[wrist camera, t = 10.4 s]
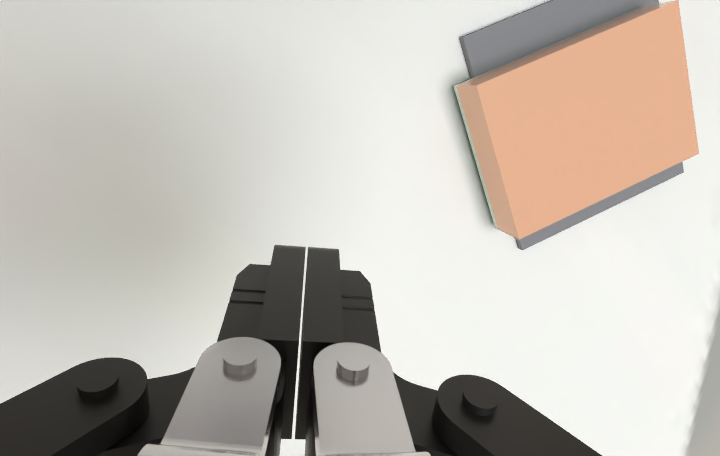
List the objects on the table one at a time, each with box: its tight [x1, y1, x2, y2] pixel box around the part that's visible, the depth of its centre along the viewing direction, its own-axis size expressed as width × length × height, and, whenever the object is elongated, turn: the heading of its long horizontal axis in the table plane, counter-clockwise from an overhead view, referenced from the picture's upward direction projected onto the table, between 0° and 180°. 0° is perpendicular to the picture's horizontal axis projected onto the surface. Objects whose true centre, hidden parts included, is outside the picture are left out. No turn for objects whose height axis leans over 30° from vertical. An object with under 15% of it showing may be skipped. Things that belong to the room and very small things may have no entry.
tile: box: [454, 0, 699, 239], centre depth 33 cm, size 10×3×14 cm
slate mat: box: [460, 0, 684, 250], centre depth 35 cm, size 15×14×1 cm
